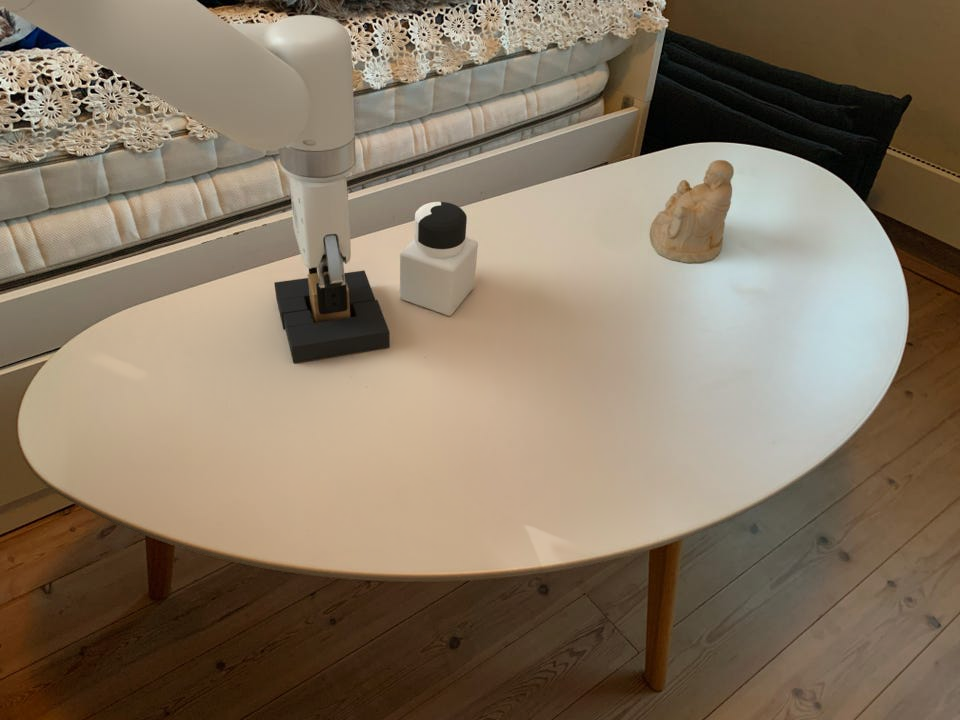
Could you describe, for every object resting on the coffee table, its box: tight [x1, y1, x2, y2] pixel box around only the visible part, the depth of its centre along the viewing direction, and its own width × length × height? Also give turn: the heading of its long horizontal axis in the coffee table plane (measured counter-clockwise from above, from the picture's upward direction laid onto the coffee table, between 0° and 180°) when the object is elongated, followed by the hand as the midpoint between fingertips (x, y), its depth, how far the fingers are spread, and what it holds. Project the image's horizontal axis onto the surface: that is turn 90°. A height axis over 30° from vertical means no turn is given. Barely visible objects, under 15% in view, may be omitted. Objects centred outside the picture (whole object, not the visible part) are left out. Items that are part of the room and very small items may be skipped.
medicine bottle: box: [399, 201, 479, 317], centre depth 94 cm, size 7×7×12 cm
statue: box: [649, 159, 735, 264], centre depth 108 cm, size 12×14×10 cm
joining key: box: [307, 272, 351, 323], centre depth 90 cm, size 4×4×6 cm
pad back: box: [273, 269, 376, 330], centre depth 94 cm, size 11×6×2 cm, turn 109°
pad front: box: [283, 299, 391, 364], centre depth 89 cm, size 11×6×2 cm, turn 109°
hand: (328, 294), depth 89 cm, fingers open, 5 cm apart
